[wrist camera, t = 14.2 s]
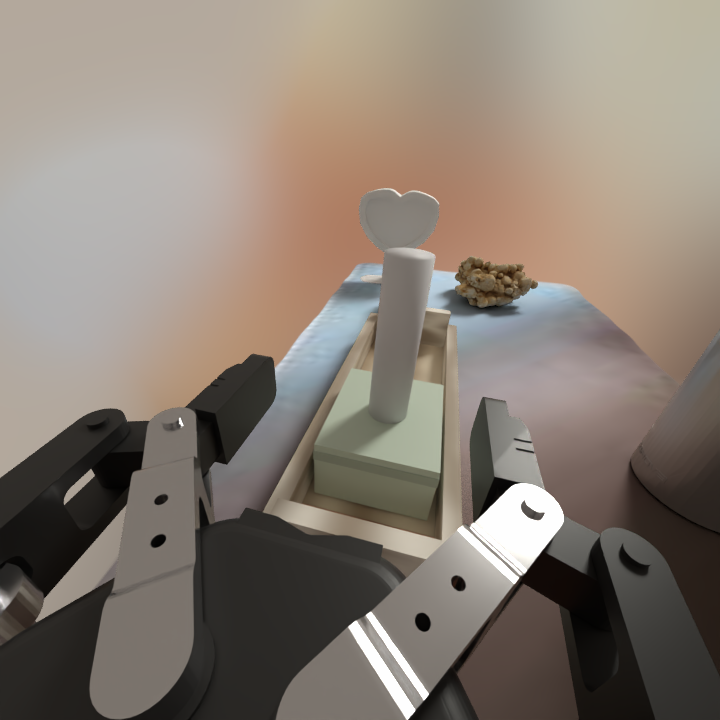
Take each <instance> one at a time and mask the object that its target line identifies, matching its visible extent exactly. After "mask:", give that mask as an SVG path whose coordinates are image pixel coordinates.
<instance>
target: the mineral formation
mask: <svg viewBox="0 0 720 720" xmlns="http://www.w3.org/2000/svg"><path fill="white" fill-rule="evenodd" d="M483 262H484V261H483V259H482V258H476V257H474V256H471V257H469V258H468V259H467V260H466V261H465V260H464V261H462V262H461V266H459V273H457V274H456V276H455V279H456V280H457V281H459V282H460V283H461V285H459V286H456V287H455V290H456V292H457V294H459V295H462V296H463V297H467V299H468V301H469V304H470V305H472V306H479V307H480V308H483V307H485V306H493V305H497V306H502V305H504V304H507V303H511V302H512V301H513V300H515V299H518V298H520V295H522V296H524V295H525V294H526V293H527V292H528V291H529V289H530V288H532V289H534V288H536V287H537V286H538V283H537V281H536V280H533V281H532V279H531V278H528V277H526V276H525V273H524V272H522V270H523V267H524V266H523V264H515V265H513V264H511V265H509V264H505V265H497V264H491V263H490V262H487V263H485V264H483Z"/></svg>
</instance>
